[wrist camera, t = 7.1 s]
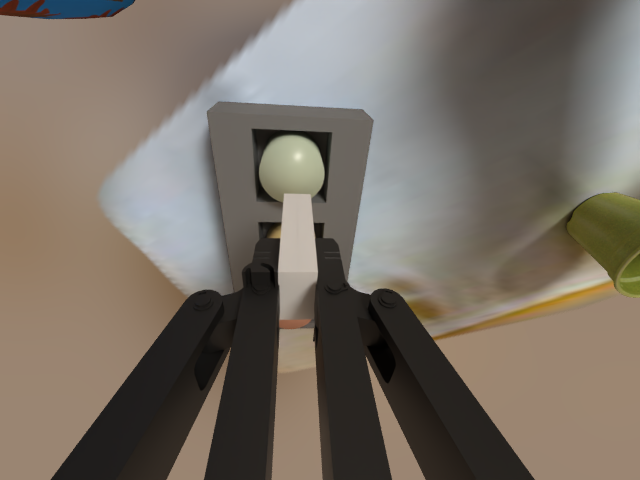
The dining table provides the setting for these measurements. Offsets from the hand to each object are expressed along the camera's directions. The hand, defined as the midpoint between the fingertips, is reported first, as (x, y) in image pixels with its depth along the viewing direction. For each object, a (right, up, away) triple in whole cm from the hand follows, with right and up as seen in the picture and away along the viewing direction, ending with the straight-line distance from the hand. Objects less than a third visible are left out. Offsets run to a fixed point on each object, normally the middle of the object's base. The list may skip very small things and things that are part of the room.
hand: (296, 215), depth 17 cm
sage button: (-1, +6, +8) cm, 10 cm away
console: (-2, 0, +14) cm, 14 cm away
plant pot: (+33, +2, +17) cm, 37 cm away
